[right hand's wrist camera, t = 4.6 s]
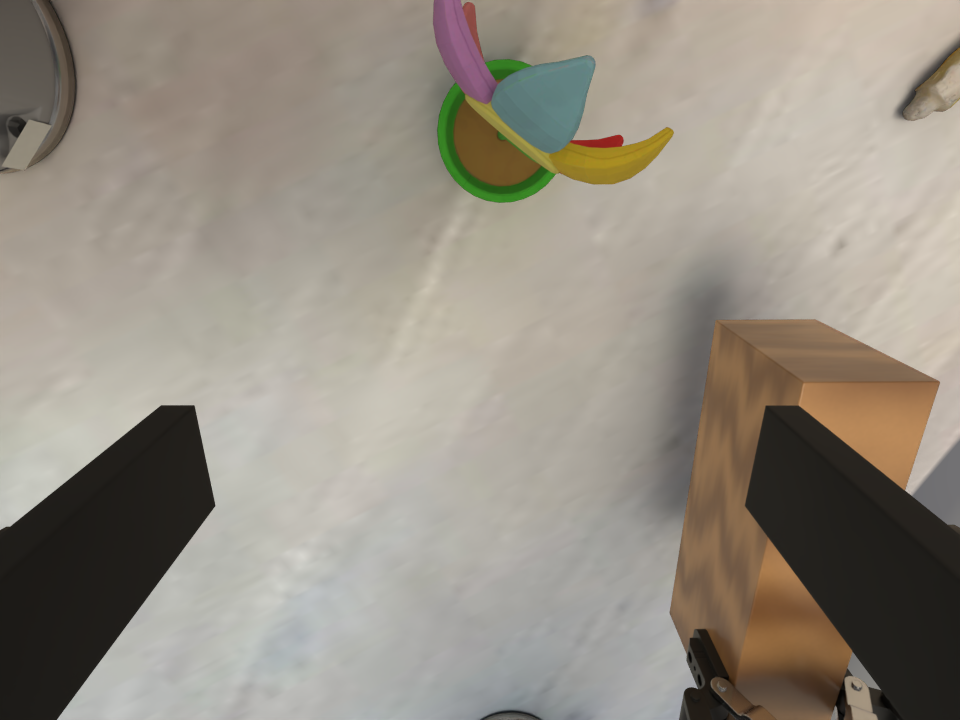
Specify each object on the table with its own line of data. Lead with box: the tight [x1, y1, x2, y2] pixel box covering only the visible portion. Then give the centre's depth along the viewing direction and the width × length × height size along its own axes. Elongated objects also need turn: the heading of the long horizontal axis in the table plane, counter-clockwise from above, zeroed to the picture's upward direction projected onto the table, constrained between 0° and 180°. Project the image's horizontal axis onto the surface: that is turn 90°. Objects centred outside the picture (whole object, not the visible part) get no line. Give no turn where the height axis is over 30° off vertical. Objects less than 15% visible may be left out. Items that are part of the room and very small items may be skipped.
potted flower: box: [433, 0, 674, 203], centre depth 27 cm, size 9×8×25 cm
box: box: [670, 319, 940, 720], centre depth 33 cm, size 24×6×10 cm, turn 0°
